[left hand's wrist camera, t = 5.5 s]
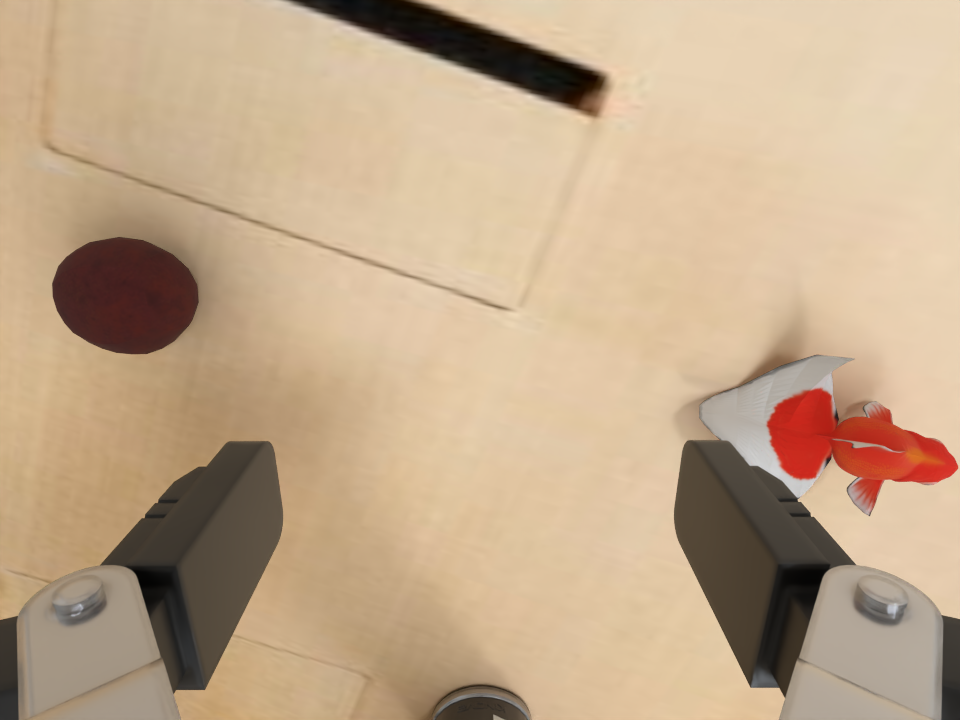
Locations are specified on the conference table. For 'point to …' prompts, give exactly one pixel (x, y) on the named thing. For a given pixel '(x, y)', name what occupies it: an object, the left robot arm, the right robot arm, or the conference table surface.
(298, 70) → the conference table surface
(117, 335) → the potato
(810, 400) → the fish
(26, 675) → the left robot arm
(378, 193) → the conference table surface
